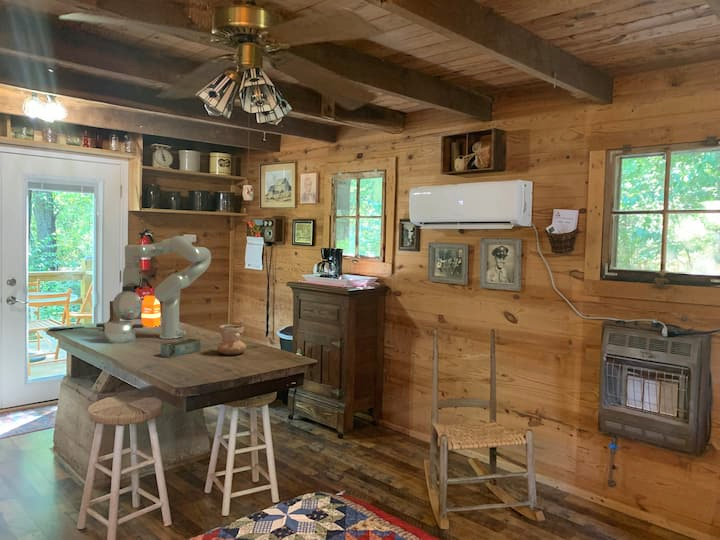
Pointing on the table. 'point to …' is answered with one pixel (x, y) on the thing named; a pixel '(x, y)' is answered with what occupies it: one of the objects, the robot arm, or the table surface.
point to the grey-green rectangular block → (180, 347)
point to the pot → (120, 331)
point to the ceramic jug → (231, 340)
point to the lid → (127, 304)
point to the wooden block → (112, 314)
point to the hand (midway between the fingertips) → (132, 296)
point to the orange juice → (150, 311)
